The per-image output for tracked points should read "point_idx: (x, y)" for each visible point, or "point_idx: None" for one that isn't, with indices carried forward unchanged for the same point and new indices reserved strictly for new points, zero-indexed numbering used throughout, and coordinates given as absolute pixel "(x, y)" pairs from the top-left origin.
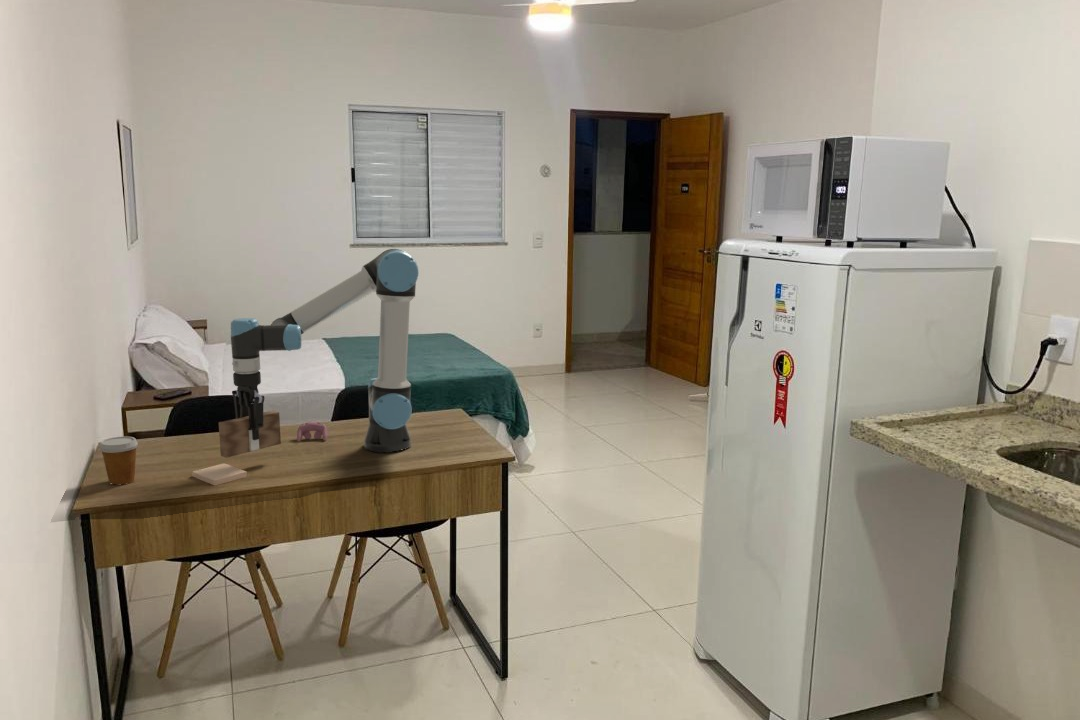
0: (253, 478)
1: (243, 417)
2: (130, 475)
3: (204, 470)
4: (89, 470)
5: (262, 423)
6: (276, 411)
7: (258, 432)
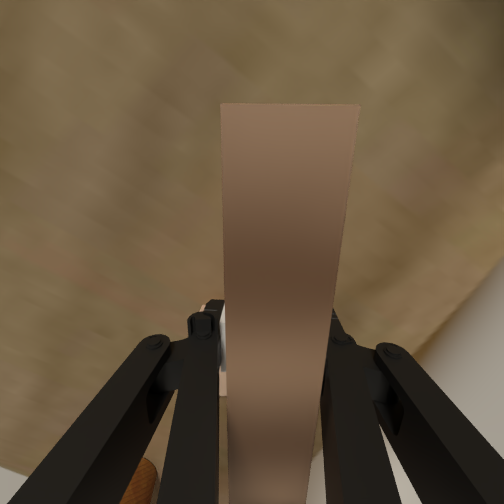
0: (354, 307)
1: (241, 440)
2: (149, 487)
3: (220, 375)
4: (11, 470)
5: (419, 373)
6: (299, 108)
7: (340, 326)
